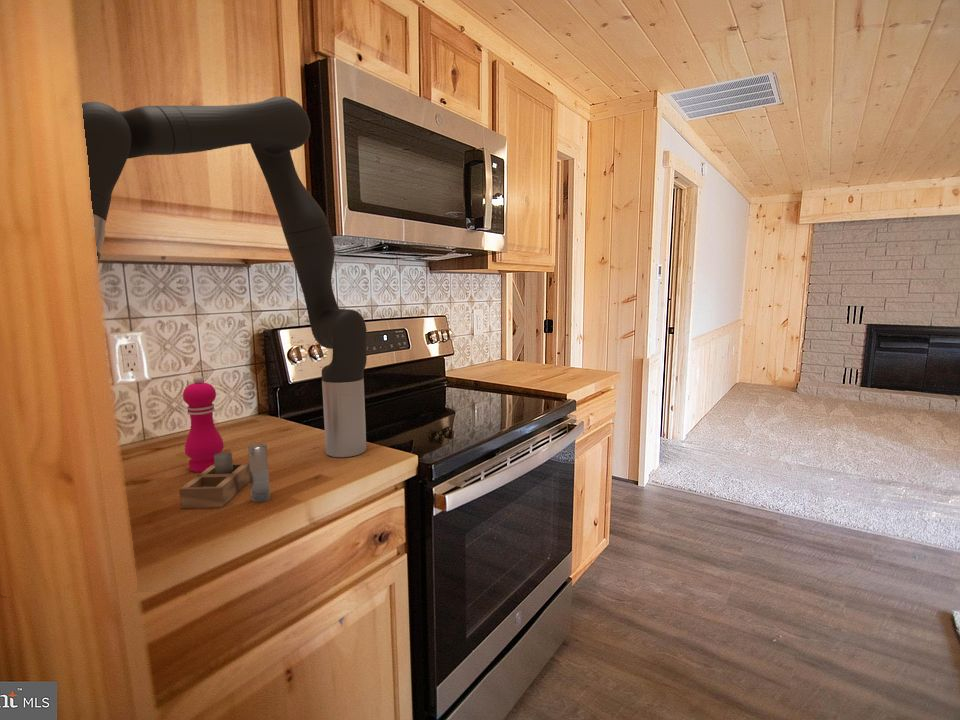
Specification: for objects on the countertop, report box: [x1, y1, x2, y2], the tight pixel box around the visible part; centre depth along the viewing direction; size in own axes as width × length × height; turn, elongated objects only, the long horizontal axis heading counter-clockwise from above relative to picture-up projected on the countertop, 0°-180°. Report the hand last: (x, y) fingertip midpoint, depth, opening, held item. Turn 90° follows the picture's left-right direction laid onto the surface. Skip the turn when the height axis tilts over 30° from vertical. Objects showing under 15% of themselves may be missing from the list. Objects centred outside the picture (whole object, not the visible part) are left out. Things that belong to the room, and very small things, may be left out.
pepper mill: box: [182, 374, 225, 473], centre depth 102 cm, size 7×7×20 cm
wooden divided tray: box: [178, 451, 251, 509], centre depth 89 cm, size 12×7×6 cm, turn 3°
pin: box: [247, 443, 271, 503], centre depth 87 cm, size 3×3×10 cm
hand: (40, 357), depth 66 cm, fingers open, 8 cm apart
